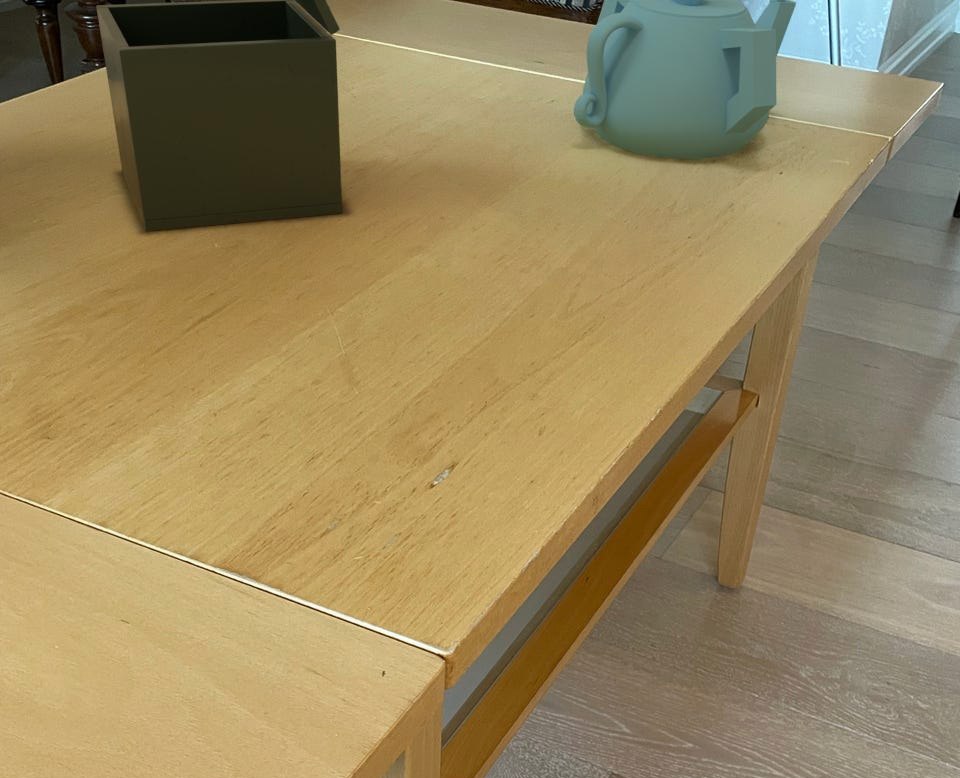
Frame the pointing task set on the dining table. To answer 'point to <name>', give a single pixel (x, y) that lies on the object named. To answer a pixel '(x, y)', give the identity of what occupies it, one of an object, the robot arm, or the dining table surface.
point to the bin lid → (320, 14)
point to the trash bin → (223, 110)
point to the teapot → (681, 75)
